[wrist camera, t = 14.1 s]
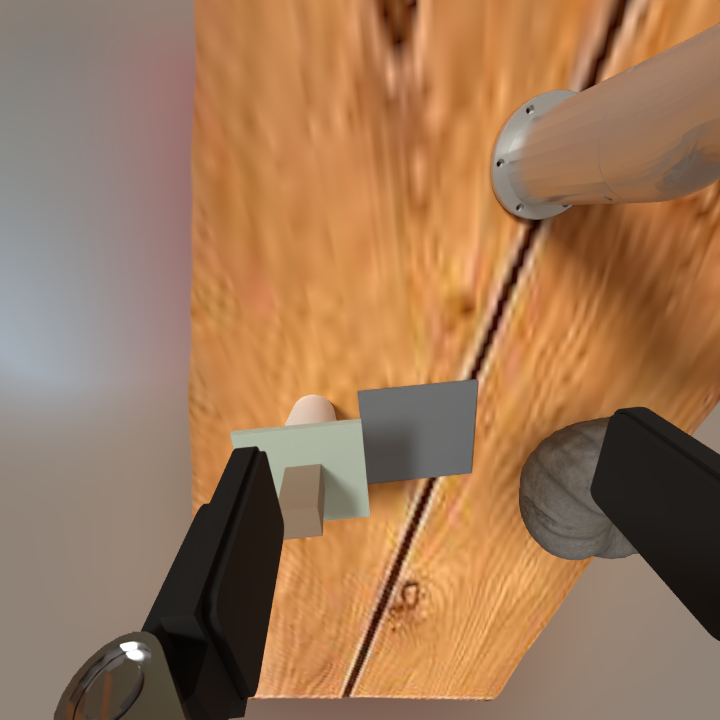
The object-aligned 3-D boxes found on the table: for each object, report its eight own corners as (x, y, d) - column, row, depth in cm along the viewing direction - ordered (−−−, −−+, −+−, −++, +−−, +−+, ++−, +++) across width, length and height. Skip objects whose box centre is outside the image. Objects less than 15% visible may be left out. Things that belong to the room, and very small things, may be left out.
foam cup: (350, 391, 50) (353, 448, 38) (338, 441, 53) (337, 507, 41) (286, 381, 48) (269, 436, 36) (278, 432, 52) (260, 498, 40)
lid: (360, 418, 36) (365, 461, 30) (369, 510, 42) (374, 562, 36) (232, 431, 36) (209, 476, 30) (258, 522, 42) (244, 576, 35)
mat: (476, 379, 50) (477, 380, 49) (470, 471, 57) (471, 473, 57) (357, 391, 50) (357, 392, 49) (366, 481, 57) (366, 484, 57)
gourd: (512, 406, 49) (615, 506, 34) (650, 377, 53) (795, 455, 39) (488, 512, 62) (556, 618, 47) (601, 482, 66) (696, 571, 51)
